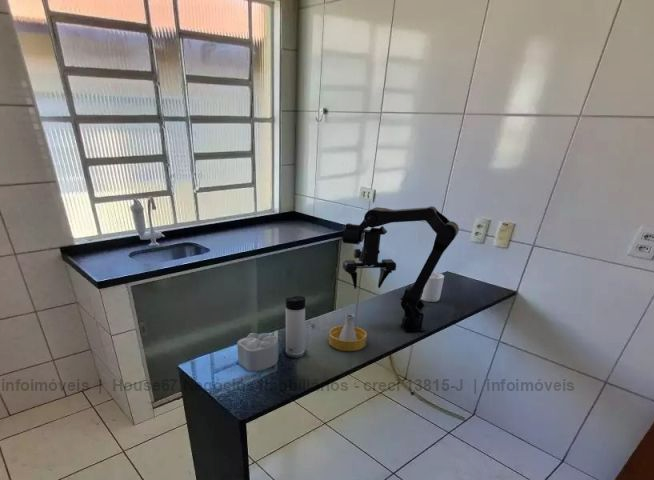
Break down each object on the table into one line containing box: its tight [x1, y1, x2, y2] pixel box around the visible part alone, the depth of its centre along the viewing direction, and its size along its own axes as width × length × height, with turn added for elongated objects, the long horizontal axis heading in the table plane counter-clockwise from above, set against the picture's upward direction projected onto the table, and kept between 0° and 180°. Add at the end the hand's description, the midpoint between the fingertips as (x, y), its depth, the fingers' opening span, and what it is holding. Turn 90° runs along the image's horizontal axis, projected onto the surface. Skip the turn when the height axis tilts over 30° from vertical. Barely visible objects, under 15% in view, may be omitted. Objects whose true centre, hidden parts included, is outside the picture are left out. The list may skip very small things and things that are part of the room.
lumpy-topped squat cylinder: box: [236, 332, 279, 372], centre depth 131 cm, size 10×13×9 cm
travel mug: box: [285, 295, 306, 359], centre depth 132 cm, size 6×7×20 cm
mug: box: [421, 271, 445, 303], centre depth 179 cm, size 9×12×11 cm
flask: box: [338, 313, 357, 341], centre depth 141 cm, size 7×7×10 cm
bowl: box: [328, 325, 368, 352], centre depth 142 cm, size 13×13×4 cm
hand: (367, 288), depth 154 cm, fingers open, 9 cm apart
